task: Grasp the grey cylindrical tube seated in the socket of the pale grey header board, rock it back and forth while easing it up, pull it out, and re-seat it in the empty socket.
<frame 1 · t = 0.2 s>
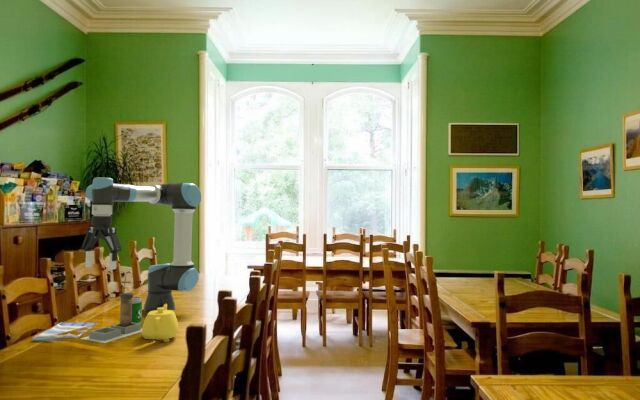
hand: (100, 268, 183), 27 cm above the table, fingers open, 13 cm apart
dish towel: (68, 335, 186), on the table
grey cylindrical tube: (125, 330, 186), point 1 cm above the table, touching header board
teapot: (160, 339, 180), on the table
soda can: (132, 325, 200), on the table
header board: (115, 336, 182), on the table
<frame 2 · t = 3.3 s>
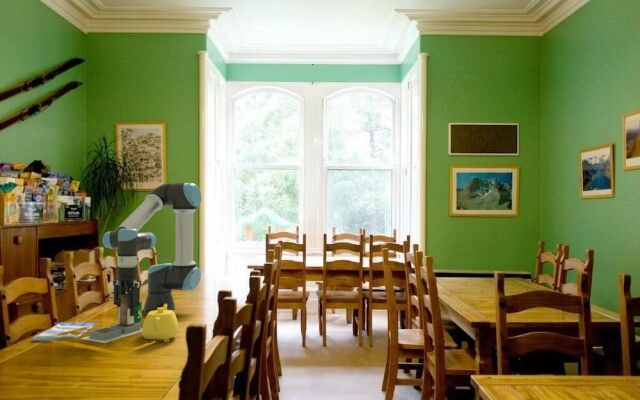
hand: (125, 323, 186), 4 cm above the table, fingers closed on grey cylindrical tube, 4 cm apart
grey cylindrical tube: (125, 330, 186), point 1 cm above the table, touching gripper, header board
everything else where it was.
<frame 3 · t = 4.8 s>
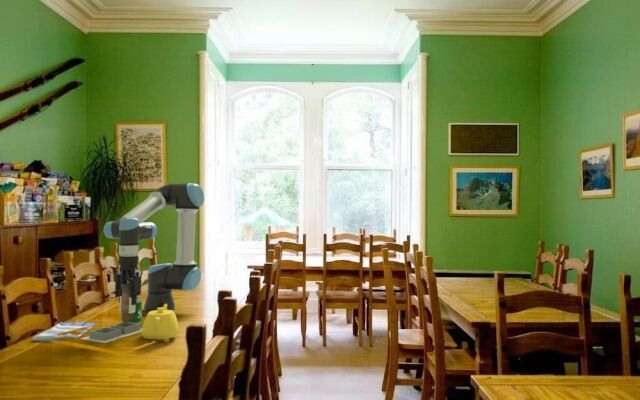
hand: (127, 311, 187), 9 cm above the table, fingers closed on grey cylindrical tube, 4 cm apart
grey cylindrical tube: (127, 319, 187), point 5 cm above the table, touching gripper
everything else where it was.
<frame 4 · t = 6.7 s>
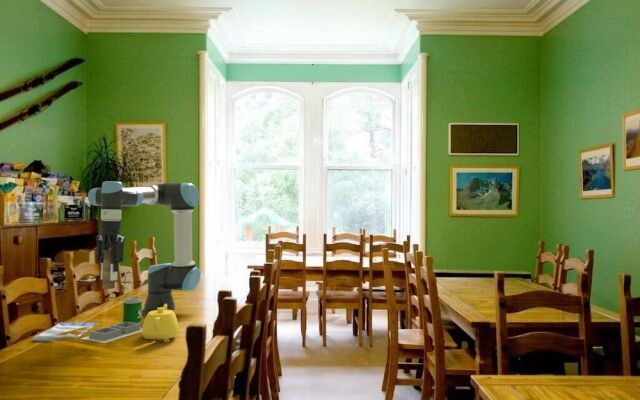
hand: (109, 279, 179), 23 cm above the table, fingers closed on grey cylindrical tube, 4 cm apart
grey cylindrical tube: (108, 288, 178), point 20 cm above the table, touching gripper
everything else where it was.
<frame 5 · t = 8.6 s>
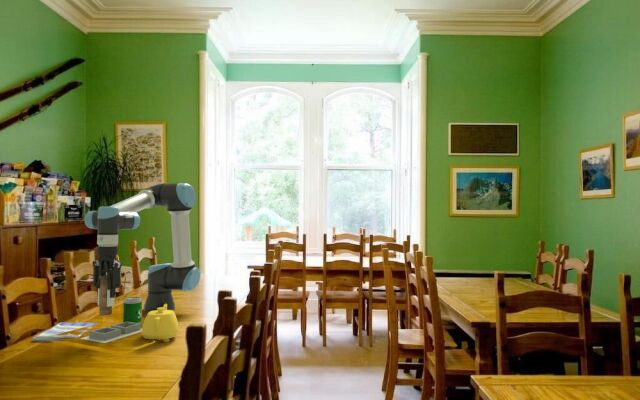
hand: (105, 305, 177), 14 cm above the table, fingers closed on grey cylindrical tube, 4 cm apart
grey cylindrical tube: (105, 313, 177), point 10 cm above the table, touching gripper
everything else where it was.
when the fingers open (6 cm above the table, at t = 10.3 s): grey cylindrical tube drops 1 cm, resting on header board.
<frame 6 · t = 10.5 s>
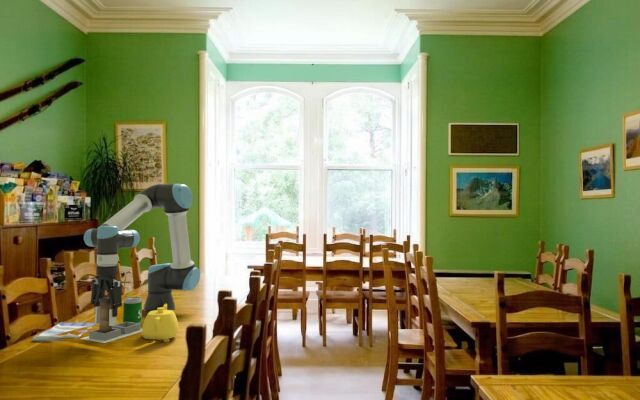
hand: (105, 323, 177), 6 cm above the table, fingers open, 7 cm apart
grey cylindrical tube: (105, 336, 177), point 1 cm above the table, touching header board
everything else where it was.
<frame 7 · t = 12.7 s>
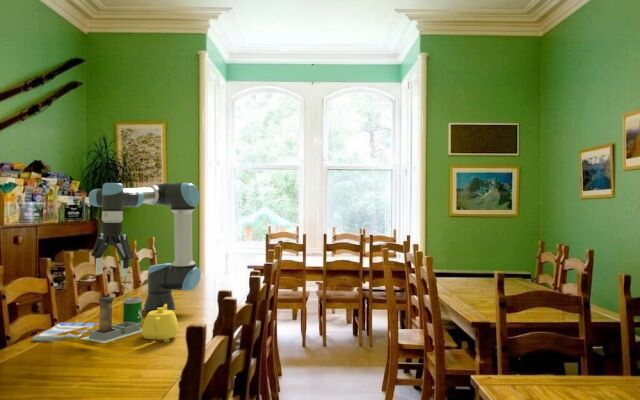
hand: (111, 275, 180), 25 cm above the table, fingers open, 13 cm apart
nothing on the table moved.
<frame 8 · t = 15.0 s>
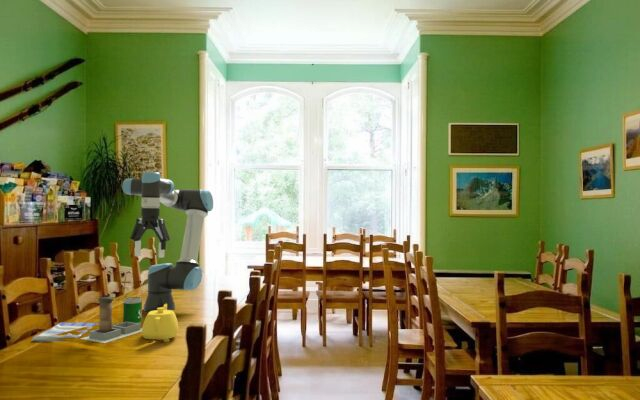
hand: (149, 256, 197), 31 cm above the table, fingers open, 13 cm apart
nothing on the table moved.
at the end: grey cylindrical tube 0.0 cm from the target spot on the header board, point 1.2 cm above the header board's base; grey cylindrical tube tilted 1°; the gripper is holding nothing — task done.
